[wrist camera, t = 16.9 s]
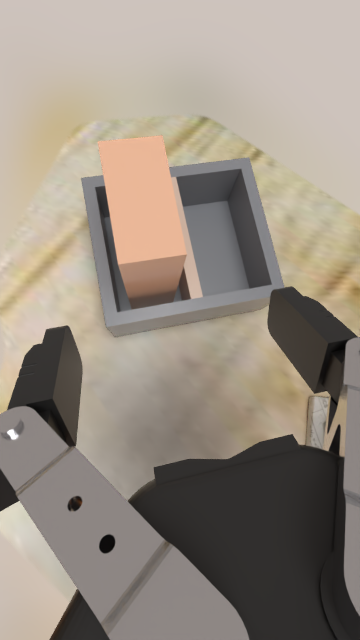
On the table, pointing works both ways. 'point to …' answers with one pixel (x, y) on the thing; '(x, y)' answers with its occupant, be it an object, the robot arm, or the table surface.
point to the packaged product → (316, 421)
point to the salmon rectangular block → (143, 218)
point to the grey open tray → (195, 249)
